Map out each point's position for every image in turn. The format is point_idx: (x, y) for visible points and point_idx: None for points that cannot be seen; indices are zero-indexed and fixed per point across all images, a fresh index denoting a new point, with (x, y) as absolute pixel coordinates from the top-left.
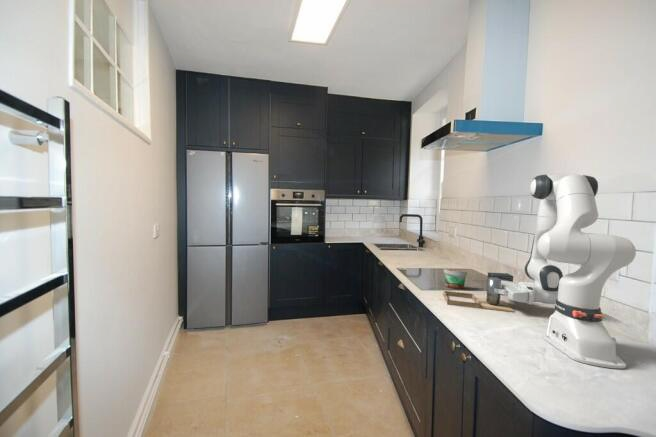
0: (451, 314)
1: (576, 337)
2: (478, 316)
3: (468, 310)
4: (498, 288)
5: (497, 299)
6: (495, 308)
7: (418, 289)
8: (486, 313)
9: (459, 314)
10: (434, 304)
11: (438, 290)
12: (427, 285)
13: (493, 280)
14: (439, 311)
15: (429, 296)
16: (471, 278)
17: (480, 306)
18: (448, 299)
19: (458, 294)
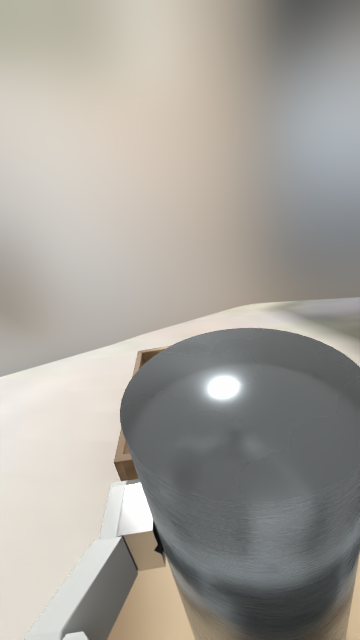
0: (44, 383)
1: None
2: (4, 465)
3: (85, 428)
4: (160, 539)
5: (191, 628)
6: (121, 617)
7: (270, 304)
8: (37, 514)
9: (41, 401)
10: (133, 345)
11: (318, 332)
12: (355, 306)
13: (137, 371)
14: (72, 360)
15: (211, 328)
16: None
17: (119, 475)
18: (145, 351)
19: None
